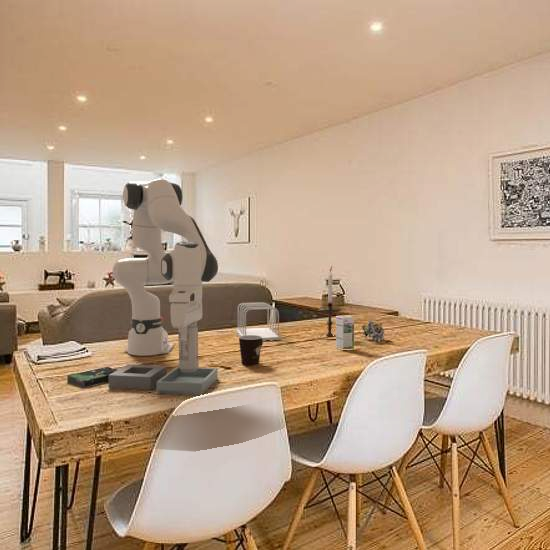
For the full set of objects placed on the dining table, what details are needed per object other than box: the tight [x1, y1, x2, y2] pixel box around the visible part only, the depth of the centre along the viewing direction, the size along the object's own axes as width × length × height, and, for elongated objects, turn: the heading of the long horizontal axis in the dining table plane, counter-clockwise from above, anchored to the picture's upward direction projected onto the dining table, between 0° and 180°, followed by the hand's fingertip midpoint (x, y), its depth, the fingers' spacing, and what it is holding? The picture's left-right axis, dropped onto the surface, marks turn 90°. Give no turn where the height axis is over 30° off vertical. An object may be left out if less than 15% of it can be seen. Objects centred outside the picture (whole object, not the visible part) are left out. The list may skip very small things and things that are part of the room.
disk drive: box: [67, 366, 119, 388], centre depth 158 cm, size 10×3×15 cm
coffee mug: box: [238, 335, 264, 367], centre depth 181 cm, size 12×9×10 cm
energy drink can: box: [177, 322, 200, 372], centre depth 151 cm, size 6×6×15 cm
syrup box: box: [335, 314, 355, 349], centre depth 206 cm, size 6×6×14 cm
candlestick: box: [318, 265, 342, 338], centre depth 230 cm, size 11×11×35 cm
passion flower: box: [361, 319, 386, 343], centre depth 225 cm, size 11×11×12 cm
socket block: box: [108, 363, 168, 390], centre depth 155 cm, size 14×14×4 cm
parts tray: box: [155, 366, 219, 396], centre depth 152 cm, size 18×14×4 cm
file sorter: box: [235, 301, 281, 342], centre depth 234 cm, size 25×17×16 cm
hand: (188, 337), depth 151 cm, fingers closed on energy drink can, 6 cm apart
